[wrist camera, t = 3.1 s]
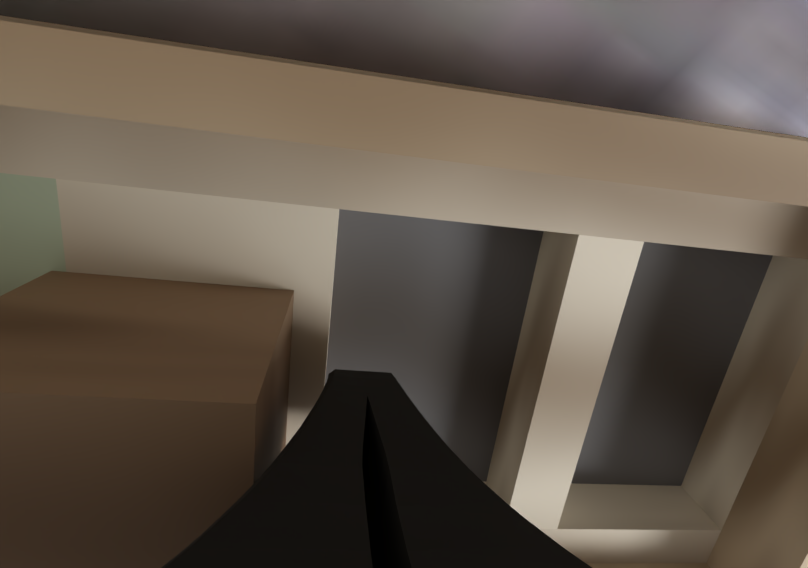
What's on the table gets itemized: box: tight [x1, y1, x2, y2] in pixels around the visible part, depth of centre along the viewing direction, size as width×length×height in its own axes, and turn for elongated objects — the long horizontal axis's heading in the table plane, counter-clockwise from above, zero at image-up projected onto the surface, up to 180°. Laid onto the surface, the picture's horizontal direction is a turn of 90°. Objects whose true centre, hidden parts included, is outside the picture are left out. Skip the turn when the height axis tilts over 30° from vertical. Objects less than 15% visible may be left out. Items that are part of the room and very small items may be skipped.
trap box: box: [0, 15, 808, 568], centre depth 10 cm, size 13×24×4 cm, turn 82°
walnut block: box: [0, 271, 294, 568], centre depth 8 cm, size 4×4×4 cm
